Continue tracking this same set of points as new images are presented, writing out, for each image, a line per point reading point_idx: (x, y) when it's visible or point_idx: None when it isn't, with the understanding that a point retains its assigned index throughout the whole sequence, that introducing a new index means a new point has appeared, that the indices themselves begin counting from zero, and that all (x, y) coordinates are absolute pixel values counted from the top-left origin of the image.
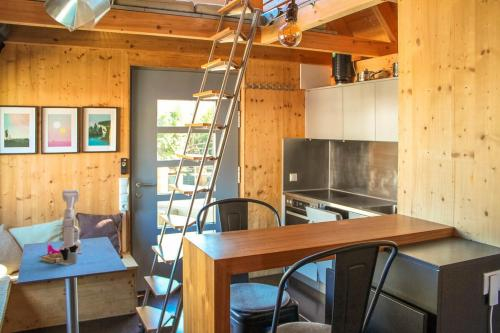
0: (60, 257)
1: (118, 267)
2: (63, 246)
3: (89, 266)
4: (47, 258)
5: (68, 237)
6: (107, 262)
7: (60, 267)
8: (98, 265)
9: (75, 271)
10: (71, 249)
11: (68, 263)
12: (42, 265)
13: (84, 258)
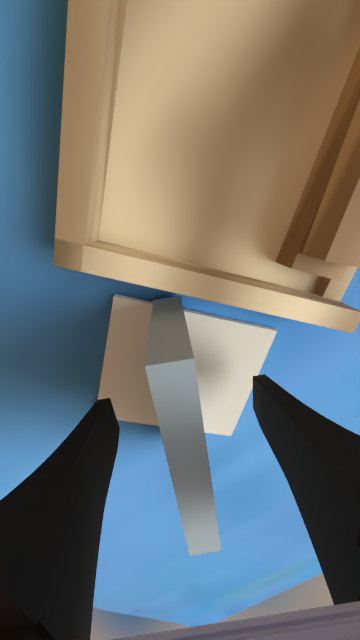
0: (341, 113)
1: (190, 626)
2: None
3: (149, 542)
4: (74, 3)
5: None
6: (276, 555)
7: (10, 417)
8: (192, 560)
9: None
10: (318, 483)
11: (139, 402)
12: None
13: None
